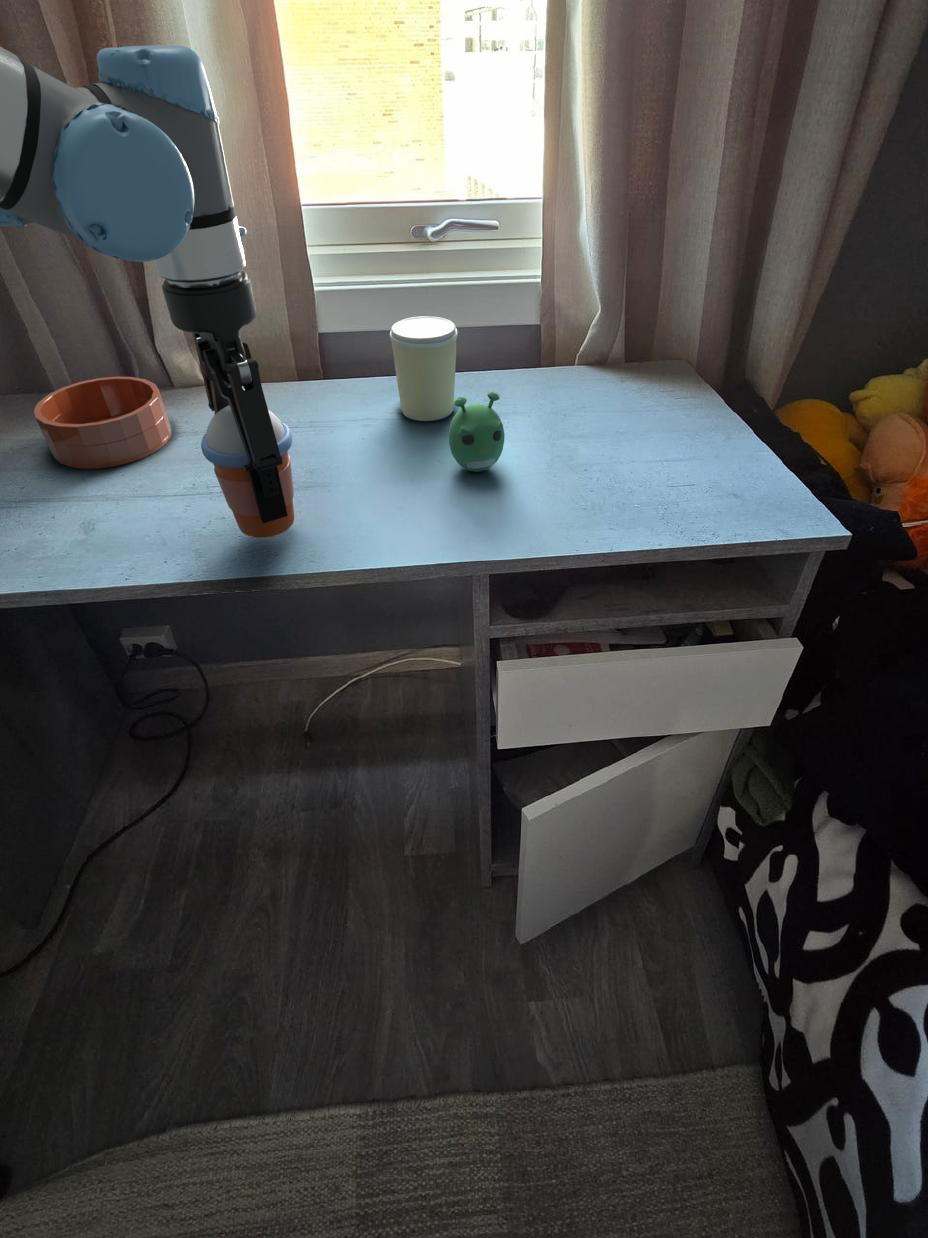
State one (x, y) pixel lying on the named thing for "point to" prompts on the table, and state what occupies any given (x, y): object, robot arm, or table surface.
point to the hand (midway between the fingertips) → (259, 496)
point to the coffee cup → (425, 366)
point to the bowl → (104, 422)
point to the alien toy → (476, 434)
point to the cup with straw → (246, 473)
